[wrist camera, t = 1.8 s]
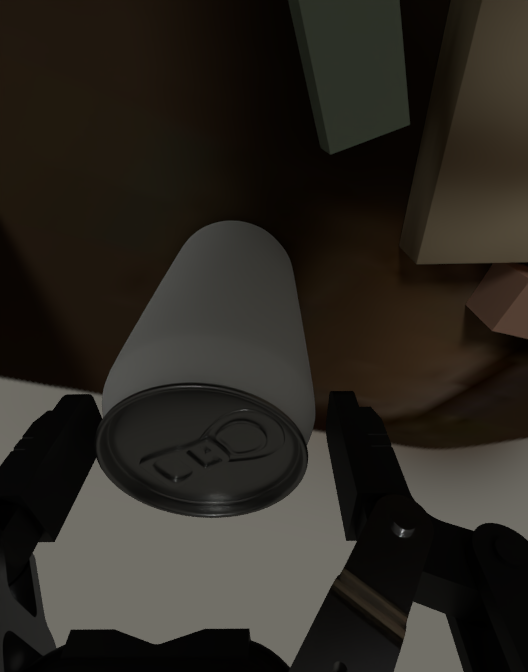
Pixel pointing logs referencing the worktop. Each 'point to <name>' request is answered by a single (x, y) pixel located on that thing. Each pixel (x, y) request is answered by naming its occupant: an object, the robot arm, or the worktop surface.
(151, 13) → the worktop surface
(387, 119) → the brick sage
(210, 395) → the can
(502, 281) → the brick terracotta
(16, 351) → the worktop surface
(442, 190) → the oak pad
